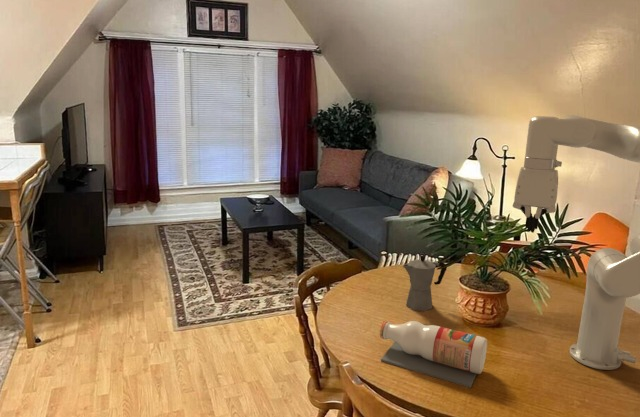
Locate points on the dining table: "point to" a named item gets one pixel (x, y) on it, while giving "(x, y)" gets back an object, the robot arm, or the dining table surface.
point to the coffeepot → (422, 282)
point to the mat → (427, 366)
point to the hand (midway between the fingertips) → (530, 230)
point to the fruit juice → (438, 344)
